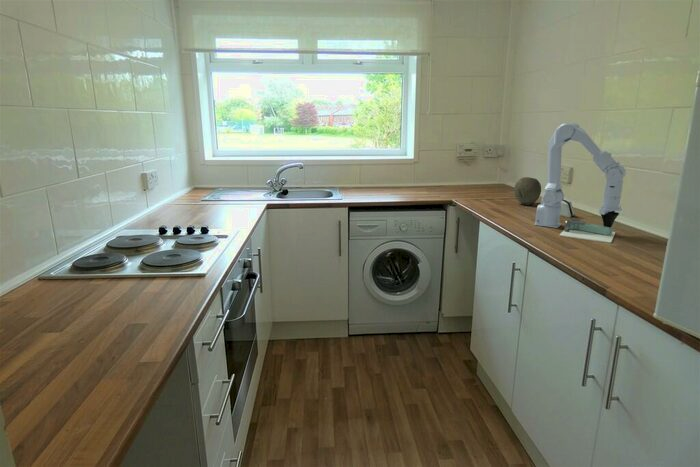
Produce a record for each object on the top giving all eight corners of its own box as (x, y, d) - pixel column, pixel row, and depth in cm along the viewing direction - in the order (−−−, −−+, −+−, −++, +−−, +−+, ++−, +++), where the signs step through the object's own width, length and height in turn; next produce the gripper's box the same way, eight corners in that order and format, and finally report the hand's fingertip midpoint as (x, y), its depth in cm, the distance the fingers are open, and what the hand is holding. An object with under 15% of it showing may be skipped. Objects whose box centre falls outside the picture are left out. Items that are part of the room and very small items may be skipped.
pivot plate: (559, 235, 171) (560, 224, 170) (567, 227, 185) (568, 216, 184) (610, 243, 161) (612, 231, 160) (615, 233, 175) (617, 222, 174)
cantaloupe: (544, 206, 229) (547, 179, 225) (517, 206, 229) (520, 179, 225) (533, 202, 242) (536, 175, 238) (508, 201, 242) (511, 175, 239)
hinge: (576, 216, 206) (574, 197, 202) (569, 220, 205) (567, 201, 201) (547, 210, 220) (544, 192, 217) (540, 213, 219) (538, 196, 215)
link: (564, 227, 181) (565, 221, 180) (570, 225, 184) (571, 220, 183) (608, 235, 168) (609, 229, 167) (613, 233, 171) (614, 227, 171)
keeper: (564, 231, 176) (565, 221, 175) (563, 230, 178) (565, 220, 177) (583, 233, 173) (585, 222, 172) (583, 232, 175) (585, 221, 174)
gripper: (614, 199, 162) (609, 234, 166) (631, 196, 171) (625, 228, 174) (595, 197, 168) (590, 230, 171) (612, 193, 176) (607, 225, 179)
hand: (607, 229), depth 173 cm, fingers closed
